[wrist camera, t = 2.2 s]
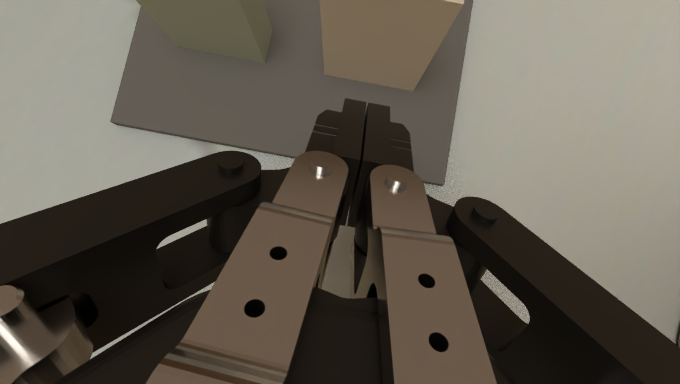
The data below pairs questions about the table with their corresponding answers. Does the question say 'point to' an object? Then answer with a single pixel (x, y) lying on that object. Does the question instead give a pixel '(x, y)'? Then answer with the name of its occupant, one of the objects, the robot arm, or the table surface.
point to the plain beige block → (384, 38)
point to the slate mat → (282, 90)
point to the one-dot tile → (215, 26)
